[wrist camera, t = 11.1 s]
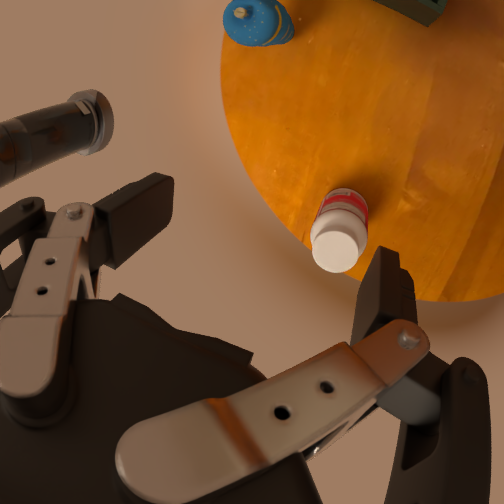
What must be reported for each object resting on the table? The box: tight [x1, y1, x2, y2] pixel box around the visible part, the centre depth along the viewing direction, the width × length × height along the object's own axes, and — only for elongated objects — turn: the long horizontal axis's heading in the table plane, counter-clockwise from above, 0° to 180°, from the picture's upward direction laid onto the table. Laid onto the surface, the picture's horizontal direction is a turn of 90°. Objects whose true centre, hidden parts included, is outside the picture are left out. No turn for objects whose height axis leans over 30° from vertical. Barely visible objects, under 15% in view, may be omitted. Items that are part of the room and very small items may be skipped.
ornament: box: [223, 0, 294, 46], centre depth 24 cm, size 5×5×15 cm
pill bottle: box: [310, 188, 368, 273], centre depth 35 cm, size 6×6×11 cm
